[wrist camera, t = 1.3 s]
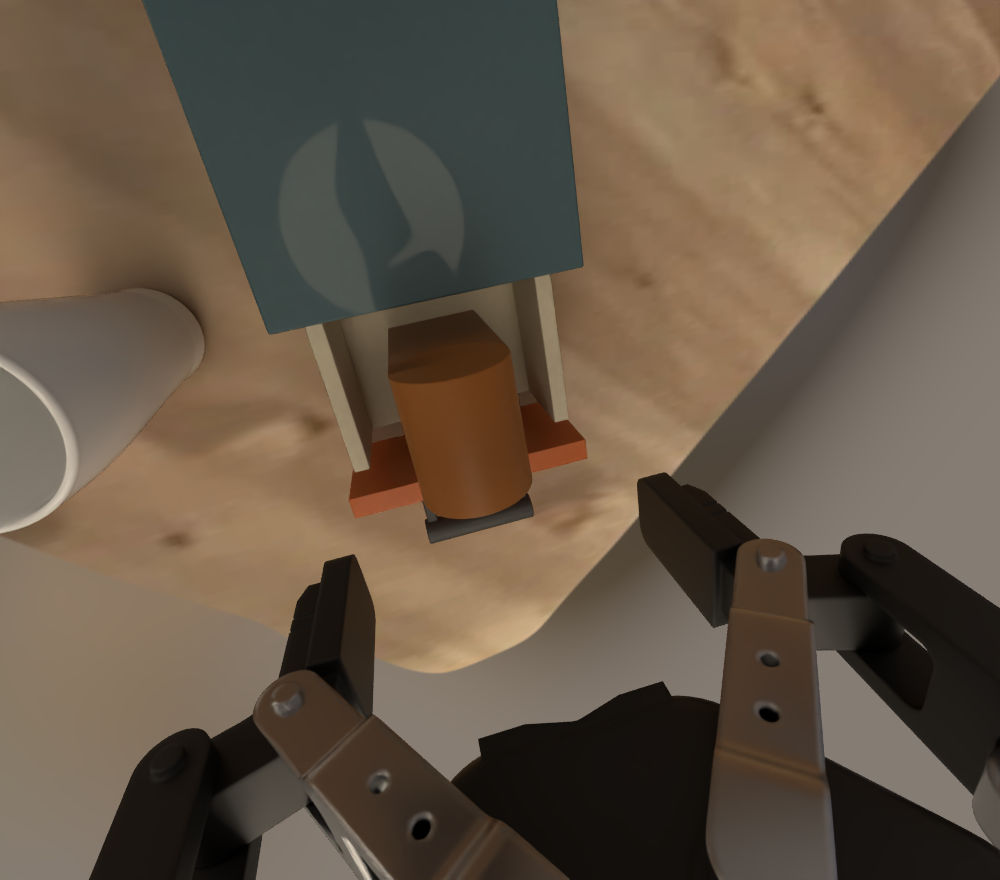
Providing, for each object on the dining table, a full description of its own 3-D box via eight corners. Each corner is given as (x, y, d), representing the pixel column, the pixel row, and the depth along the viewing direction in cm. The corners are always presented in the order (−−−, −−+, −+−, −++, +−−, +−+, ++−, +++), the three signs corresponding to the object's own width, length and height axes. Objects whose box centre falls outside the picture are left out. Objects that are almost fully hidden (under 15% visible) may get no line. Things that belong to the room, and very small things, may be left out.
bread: (387, 328, 29) (387, 394, 18) (473, 309, 29) (523, 362, 18) (413, 423, 31) (427, 532, 20) (492, 404, 32) (545, 500, 21)
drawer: (560, 471, 36) (595, 523, 30) (380, 518, 35) (378, 582, 28) (520, 196, 28) (556, 190, 22) (287, 242, 27) (257, 249, 21)
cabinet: (534, 254, 31) (584, 266, 23) (300, 304, 29) (268, 335, 21) (490, -62, 24) (538, -192, 17) (189, -19, 23) (87, -141, 15)
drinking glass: (217, 279, 28) (55, 336, 14) (226, 397, 30) (96, 539, 17) (73, 264, 26) (-262, 312, 13) (95, 390, 29) (-165, 541, 15)
